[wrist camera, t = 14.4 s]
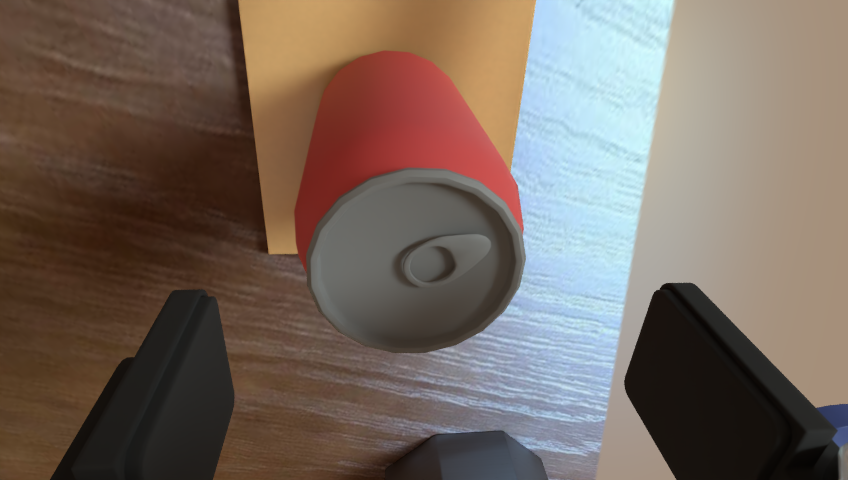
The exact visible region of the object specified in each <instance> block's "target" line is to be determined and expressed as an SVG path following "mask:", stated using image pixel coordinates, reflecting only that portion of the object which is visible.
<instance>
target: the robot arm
mask: <svg viewBox="0 0 848 480" xmlns="http://www.w3.org/2000/svg"><path fill="white" fill-rule="evenodd" d="M624 383H625V384H624V385H625V390H626V393H627V395H628V397H629V399H630V401H631V402H632V404H633V406H634V408H635V409H636V411H637V413H638V414H639V416H640V418H641V420H642V421H643V423H644V425H645V426H646V428H647V430H648V432H649V433H650V435H651V437H652V439H653V440H654V442H655V444H656V445H657V447H658V449H659V450H660V452H661V454H662V456H663V457H664V459H665V461H666V462H667V464H668V466H669V468H670V469H671V471H672V473H673V475H674V476H675V478H676V480H848V442H847V443H846V444H844V445H843V446H841V447H839V446H838V445H837V444H836V443H835V442H834V441H833V440H832V439H833V437H834V436H835V434H836V433H837V431H838V430H837V429H836V428H835V427H834V426H833V425H832V424H831V423H830V422H829V421H828V420H827V419H826V418H825V417H824V416H823V415H822V414H821V413H820V412H819V411H818V410H817V409H816V408H815V407H814V406H813V405H812V404H811V403H810V402H809V400H807V398H806V397H805V396H804V395H803V394H802V393H801V392H800V391H799V390H798V389H797V388H796V387H795V386H794V385H793V384H792V383H791V382H790V381H789V380H788V379H787V378H786V377H785V376H784V375H783V374H782V373H781V372H780V371H779V370H778V369H777V368H776V367H775V366H774V365H773V364H772V363H771V362H770V361H769V360H768V358H767V357H766V356H765V355H763V353H762V352H761V351H760V350H759V349H758V348H757V347H756V346H755V345H754V344H753V343H752V342H751V341H750V340H749V339H748V338H747V337H746V336H745V335H744V334H743V333H742V332H741V331H740V330H739V329H738V328H737V327H736V326H735V325H734V324H733V323H732V322H731V321H730V319H729V318H728V317H726V315H724V314H723V312H722V311H720V309H719V308H718V307H717V306H716V305H715V304H714V303H713V302H712V301H711V300H710V299H709V298H708V297H707V296H706V295H705V294H704V293H703V292H702V291H701V290H700V289H699V288H698V287H697V286H696V285H695V284H693V283H666V284H664V285H662V287H661V288H660V290H656V291H655V292H654V294H653V296H652V299H651V302H650V305H649V308H648V311H647V314H646V317H645V320H644V323H643V326H642V329H641V332H640V335H639V338H638V341H637V343H636V346H635V349H634V352H633V355H632V358H631V361H630V364H629V367H628V370H627V373H626V376H625V380H624ZM233 407H234V389H233V384H232V378H231V373H230V368H229V362H228V357H227V351H226V346H225V341H224V335H223V330H222V325H221V319H220V314H219V309H218V303H217V300H216V298H215V297H208V296H207V293H206V291H205V290H174V291H172V293H171V294H170V295H169V297H168V299H167V301H166V302H165V304H164V306H163V308H162V310H161V311H160V313H159V315H158V317H157V318H156V320H155V322H154V324H153V325H152V327H151V329H150V331H149V332H148V334H147V336H146V338H145V339H144V341H143V343H142V345H141V346H140V348H139V350H138V352H137V354H136V355H135V357H129V358H126V359H124V360H122V361H121V363H120V364H119V365H118V367H117V368H116V370H115V371H114V373H113V375H112V377H111V378H110V380H109V382H108V383H107V385H106V387H105V388H104V390H103V392H102V393H101V395H100V397H99V398H98V400H97V402H96V403H95V405H94V407H93V408H92V410H91V412H90V413H89V415H88V417H87V418H86V420H85V422H84V423H83V425H82V427H81V429H80V430H79V432H78V434H77V435H76V437H75V439H74V440H73V442H72V444H71V445H70V447H69V449H68V450H67V452H66V454H65V455H64V457H63V459H62V460H61V462H60V464H59V465H58V467H57V469H56V470H55V472H54V474H53V475H52V477H51V479H50V480H213V477H214V474H215V470H216V467H217V463H218V460H219V456H220V453H221V449H222V446H223V443H224V439H225V436H226V432H227V429H228V425H229V422H230V418H231V415H232V412H233Z"/></svg>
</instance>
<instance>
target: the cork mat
mask: <svg viewBox="0 0 848 480" xmlns="http://www.w3.org/2000/svg"><path fill="white" fill-rule="evenodd" d="M535 4H536V0H238V5H239V13H240V21H241V30H242V38H243V46H244V54H245V63H246V71H247V79H248V87H249V96H250V104H251V112H252V120H253V129H254V137H255V145H256V153H257V162H258V170H259V178H260V186H261V195H262V203H263V211H264V219H265V228H266V236H267V244H268V252H269V254H298V250H297V246H296V236H295V216H294V210H295V205H296V201H297V197H298V192H299V188H300V184H301V180H302V175H303V171H304V167H305V162H306V158H307V154H308V150H309V145H310V141H311V137H312V132H313V128H314V124H315V120H316V115H317V112H318V108H319V105H320V102H321V99H322V96H323V93H324V90H325V89H326V87H327V86H328V85H329V83H330V82H331V81H332V79H333V78H334V77H335V75H336V74H337V73H338V71H339V70H341V69H342V68H344V67H345V66H347V65H348V64H350V63H351V62H353V61H354V60H356V59H357V58H359V57H361V56H365V55H369V54H372V53H376V52H380V51H384V50H386V51H400V52H410V53H412V54H415V55H417V56H420V57H422V58H424V59H427V60H429V61H431V62H433V63H434V64H435V65H436V66H437V67H438V68H440V69H441V70H442V71H443V72H444V73H445V74H446V75H447V76H449V77H450V79H451V80H452V82H453V83H454V85H455V86H456V88H457V89H458V91H459V92H460V94H461V95H462V97H463V99H464V100H465V102H466V103H467V105H468V106H469V108H470V109H471V111H472V112H473V114H474V115H475V117H476V118H477V120H478V122H479V123H480V125H481V126H482V128H483V129H484V131H485V132H486V134H487V135H488V137H489V138H490V140H491V141H492V143H493V144H494V146H495V148H496V149H497V151H498V152H499V154H500V155H501V157H502V159H503V160H504V162H505V164H506V166H507V168H508V169H509V171H511V165H512V158H513V151H514V145H515V138H516V131H517V124H518V118H519V111H520V104H521V98H522V91H523V84H524V78H525V71H526V64H527V58H528V51H529V44H530V38H531V31H532V24H533V18H534V11H535Z"/></svg>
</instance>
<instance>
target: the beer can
mask: <svg viewBox="0 0 848 480" xmlns="http://www.w3.org/2000/svg"><path fill="white" fill-rule="evenodd" d="M294 216H295V236H296V246H297V250H298V255H299V257H300V260H301V262H302V264H303V267H304V269H305V271H306V273H307V286H308V288H309V290H310V293H311V295H312V297H313V299H314V302H315V304H316V306H317V308H318V311H319V312H320V313H321V314H322V315H323V316H324V317H325V318H326V319H327V320H328V321H329V322H330V323H331V324H332V325H333V327H334V328H335V329H336V330H337V331H338V332H340V333H341V334H343V335H345V336H347V337H349V338H351V339H353V340H354V341H356V342H358V343H360V344H362V345H364V346H366V347H370V348H375V349H379V350H383V351H388V352H392V353H426V352H430V351H434V350H438V349H442V348H446V347H450V346H454V345H457V344H459V343H461V342H462V341H464V340H466V339H468V338H470V337H472V336H474V335H476V334H478V333H480V332H481V331H483V330H484V329H485V328H486V327H487V326H489V325H490V324H491V323H492V322H493V321H494V320H495V319H496V318H497V317H498V316H500V315H501V314H502V313H503V312H504V311H505V309H506V308H507V306H508V305H509V303H510V301H511V300H512V298H513V296H514V295H515V293H516V291H517V290H518V288H519V286H520V283H521V278H522V274H523V269H524V265H525V260H526V256H525V249H524V242H523V236H522V235H523V230H524V228H523V220H522V213H521V206H520V199H519V193H518V186H517V184H516V182H515V180H514V178H513V176H512V175H511V173H510V171H509V169H508V168H507V166H506V164H505V162H504V160H503V159H502V157H501V155H500V154H499V152H498V151H497V149H496V148H495V146H494V144H493V143H492V141H491V140H490V138H489V137H488V135H487V134H486V132H485V131H484V129H483V128H482V126H481V125H480V123H479V122H478V120H477V118H476V117H475V115H474V114H473V112H472V111H471V109H470V108H469V106H468V105H467V103H466V102H465V100H464V99H463V97H462V95H461V94H460V92H459V91H458V89H457V88H456V86H455V85H454V83H453V82H452V80H451V79H450V77H449V76H447V75H446V74H445V73H444V72H443V71H442V70H441V69H440V68H438V67H437V66H436V65H435V64H434V63H433V62H431V61H429V60H427V59H424V58H422V57H420V56H417V55H415V54H412V53H410V52H400V51H386V50H384V51H380V52H376V53H372V54H369V55H365V56H361V57H359V58H357V59H356V60H354V61H353V62H351V63H350V64H348V65H347V66H345V67H344V68H342V69H341V70H339V71H338V73H337V74H336V75H335V77H334V78H333V79H332V81H331V82H330V83H329V85H328V86H327V87H326V89H325V90H324V93H323V96H322V99H321V102H320V105H319V108H318V112H317V115H316V120H315V124H314V128H313V132H312V137H311V141H310V145H309V150H308V154H307V158H306V162H305V167H304V171H303V175H302V180H301V184H300V188H299V192H298V197H297V201H296V205H295V210H294Z"/></svg>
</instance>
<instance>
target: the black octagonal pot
mask: <svg viewBox="0 0 848 480" xmlns="http://www.w3.org/2000/svg"><path fill="white" fill-rule="evenodd" d="M385 480H548V477H547V475H546V472H545V469H544V466H543V463H542V460H541V458H539V457H538V456H537V455H535V454H534V453H532V452H531V451H530V450H528V449H527V448H526V447H524V446H523V445H521V444H520V443H519V442H517V441H516V440H514V439H513V438H512V437H510V436H509V435H508V434H506V433H505V432H503V431H492V432H475V433H459V434H442V435H435V436H433V437H432V438H430V439H429V440H427V441H426V442H424V443H423V444H421V445H420V446H419V447H417V448H416V449H414V450H413V451H411V452H410V453H408V454H407V455H405V456H404V457H403V458H401V459H400V460H398V461H397V462H395V463H394V464H392V465H391V466H389V467H388V468H387V469H386V470H385Z"/></svg>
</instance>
